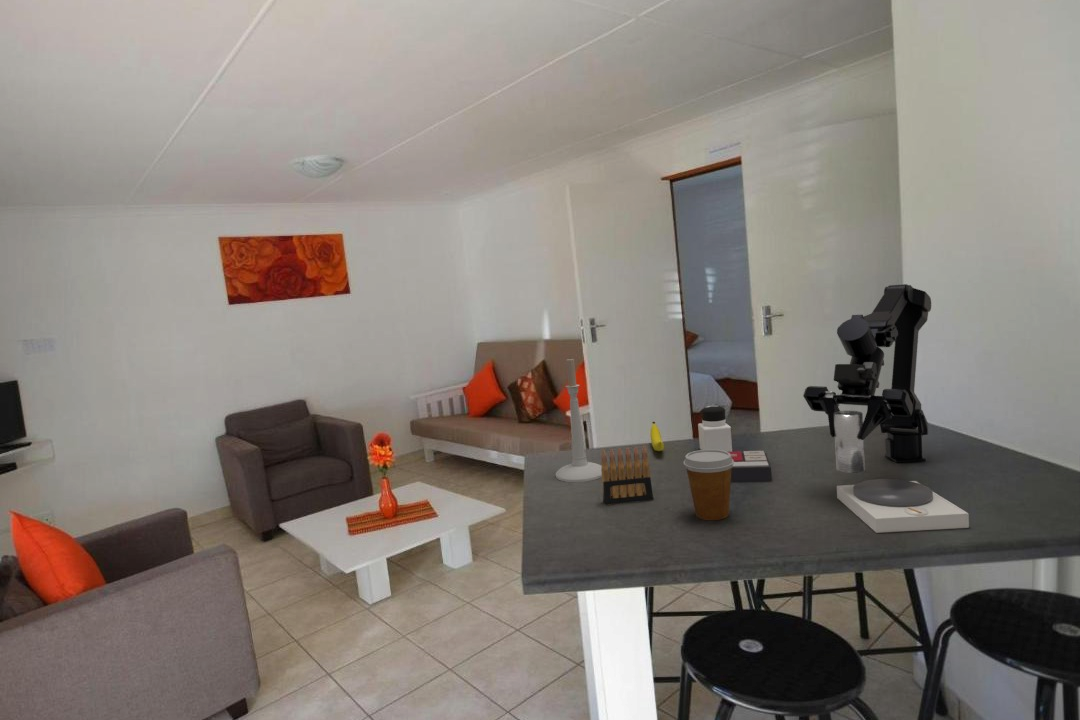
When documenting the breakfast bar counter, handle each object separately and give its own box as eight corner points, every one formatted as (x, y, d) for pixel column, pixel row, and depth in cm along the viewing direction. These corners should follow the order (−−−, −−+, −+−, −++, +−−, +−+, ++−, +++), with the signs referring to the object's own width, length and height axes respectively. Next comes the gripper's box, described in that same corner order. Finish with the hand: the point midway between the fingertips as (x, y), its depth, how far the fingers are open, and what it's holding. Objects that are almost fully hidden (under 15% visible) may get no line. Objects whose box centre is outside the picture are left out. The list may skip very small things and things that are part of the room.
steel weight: (852, 463, 124) (850, 409, 123) (871, 470, 120) (868, 413, 118) (830, 467, 123) (827, 413, 122) (848, 474, 118) (845, 417, 117)
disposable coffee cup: (683, 508, 128) (678, 451, 127) (729, 504, 128) (726, 447, 126) (693, 525, 119) (688, 464, 117) (743, 521, 118) (739, 459, 117)
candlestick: (594, 464, 167) (584, 352, 163) (614, 476, 154) (603, 356, 151) (549, 472, 163) (537, 358, 160) (566, 485, 151) (554, 362, 147)
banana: (656, 460, 164) (654, 437, 163) (650, 443, 183) (648, 421, 182) (667, 460, 164) (665, 436, 163) (660, 442, 182) (658, 421, 182)
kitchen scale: (915, 493, 124) (915, 475, 123) (968, 527, 106) (968, 507, 106) (837, 497, 125) (836, 481, 125) (876, 532, 108) (875, 513, 107)
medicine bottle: (733, 453, 164) (730, 408, 163) (705, 455, 164) (702, 410, 163) (725, 446, 171) (722, 403, 170) (699, 448, 171) (696, 405, 170)
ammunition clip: (604, 504, 135) (599, 450, 133) (603, 502, 137) (598, 448, 135) (653, 499, 135) (649, 445, 134) (651, 497, 137) (647, 443, 135)
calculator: (765, 449, 153) (771, 463, 139) (766, 466, 153) (772, 482, 139) (719, 450, 156) (719, 464, 142) (720, 467, 156) (720, 483, 142)
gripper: (804, 347, 128) (784, 411, 122) (906, 346, 115) (889, 418, 108) (821, 378, 135) (803, 440, 128) (919, 381, 121) (904, 451, 115)
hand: (846, 437), depth 120 cm, fingers closed on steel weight, 5 cm apart
